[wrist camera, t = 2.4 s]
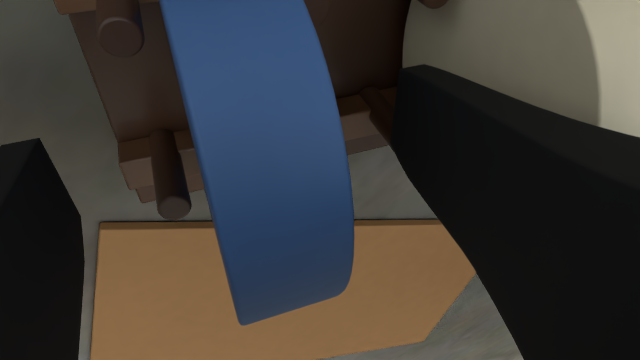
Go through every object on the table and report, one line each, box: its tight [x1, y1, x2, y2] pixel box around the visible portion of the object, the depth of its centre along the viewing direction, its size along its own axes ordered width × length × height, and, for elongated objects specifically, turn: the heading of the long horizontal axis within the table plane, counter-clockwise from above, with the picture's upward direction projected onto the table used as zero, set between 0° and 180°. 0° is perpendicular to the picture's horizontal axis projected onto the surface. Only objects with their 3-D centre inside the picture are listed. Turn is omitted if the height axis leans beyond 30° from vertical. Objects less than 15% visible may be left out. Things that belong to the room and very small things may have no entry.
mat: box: [90, 219, 476, 360], centre depth 23 cm, size 20×11×1 cm, turn 71°
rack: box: [54, 0, 449, 220], centre depth 13 cm, size 19×9×4 cm, turn 91°
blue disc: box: [159, 0, 355, 326], centre depth 9 cm, size 2×7×7 cm, turn 1°
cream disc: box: [402, 0, 640, 137], centre depth 11 cm, size 2×7×7 cm, turn 1°
